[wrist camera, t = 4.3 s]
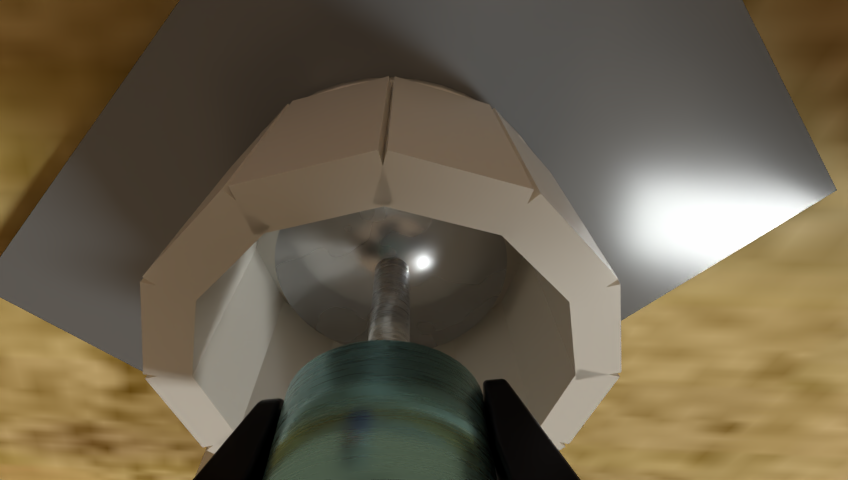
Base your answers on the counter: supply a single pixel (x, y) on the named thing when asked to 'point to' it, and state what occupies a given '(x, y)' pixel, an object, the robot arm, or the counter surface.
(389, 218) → the wine glass
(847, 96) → the counter surface
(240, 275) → the thick white ring cup
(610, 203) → the plate
